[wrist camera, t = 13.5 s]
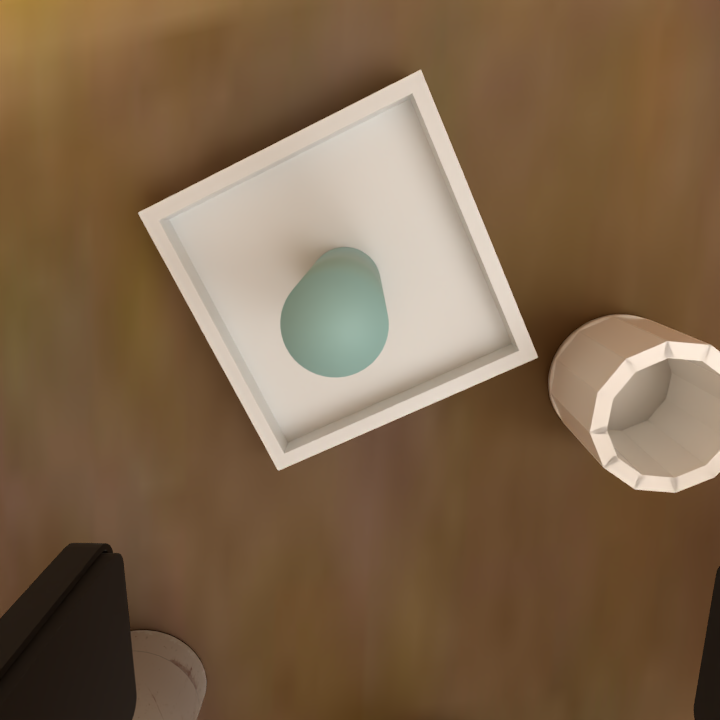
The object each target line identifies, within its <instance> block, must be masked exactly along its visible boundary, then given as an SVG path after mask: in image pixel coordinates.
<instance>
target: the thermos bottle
mask: <svg viewBox="0 0 720 720" xmlns="http://www.w3.org/2000/svg"><path fill="white" fill-rule="evenodd" d="M130 632H131V642H132V652H133V662H134V672H135V682H136V692H137V700H136V708H135V712H134V716H133V719H132V720H197V717H198V714H199V711H200V708H201V705H202V702H203V699H204V696H205V693H206V684H207V681H206V675H205V670H204V668H203V665H202V663H201V661H200V660H199V658H198V656H197V655H196V654H195V653H194V652H193V650H192V649H191V648H190V647H189V646H187V645H186V644H185V643H183V642H182V641H180V640H179V639H177V638H175V637H173V636H171V635H168V634H165V633H161V632H158V631H150V630H135V631H130Z"/></svg>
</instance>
